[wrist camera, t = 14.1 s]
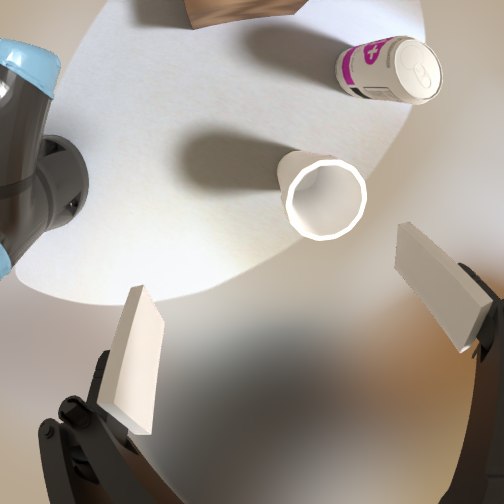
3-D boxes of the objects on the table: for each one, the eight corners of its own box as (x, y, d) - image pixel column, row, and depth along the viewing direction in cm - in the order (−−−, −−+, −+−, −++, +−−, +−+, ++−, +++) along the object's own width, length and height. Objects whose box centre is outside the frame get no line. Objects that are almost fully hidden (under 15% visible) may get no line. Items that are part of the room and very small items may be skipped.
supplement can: (322, 65, 32) (375, 52, 19) (360, 39, 30) (421, 24, 17) (354, 108, 35) (415, 119, 23) (389, 82, 33) (455, 86, 20)
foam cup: (331, 191, 42) (370, 227, 31) (276, 208, 43) (297, 251, 32) (319, 133, 37) (359, 149, 26) (258, 150, 38) (276, 172, 27)
